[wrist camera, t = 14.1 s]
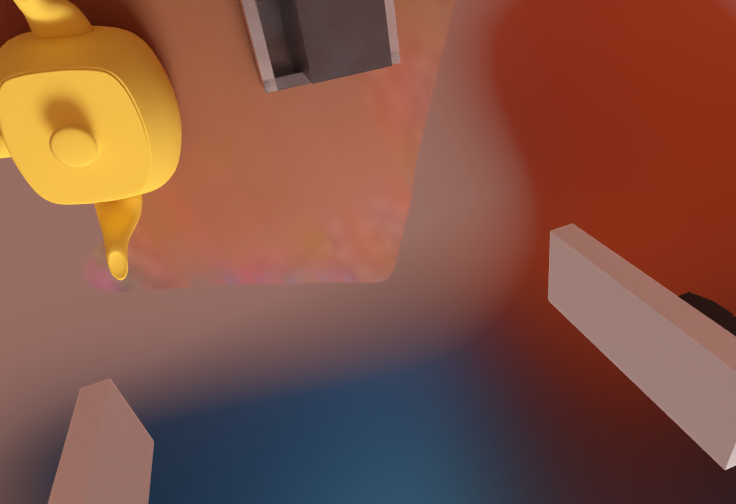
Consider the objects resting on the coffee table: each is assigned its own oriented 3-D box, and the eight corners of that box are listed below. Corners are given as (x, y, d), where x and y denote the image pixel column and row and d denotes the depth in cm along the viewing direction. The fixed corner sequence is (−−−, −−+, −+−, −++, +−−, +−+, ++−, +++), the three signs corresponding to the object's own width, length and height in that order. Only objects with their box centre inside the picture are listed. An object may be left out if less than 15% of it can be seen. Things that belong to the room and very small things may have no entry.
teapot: (-94, -38, 33) (-202, -39, 25) (144, -46, 37) (126, -51, 28) (31, 239, 45) (-11, 307, 36) (205, 213, 48) (206, 268, 39)
